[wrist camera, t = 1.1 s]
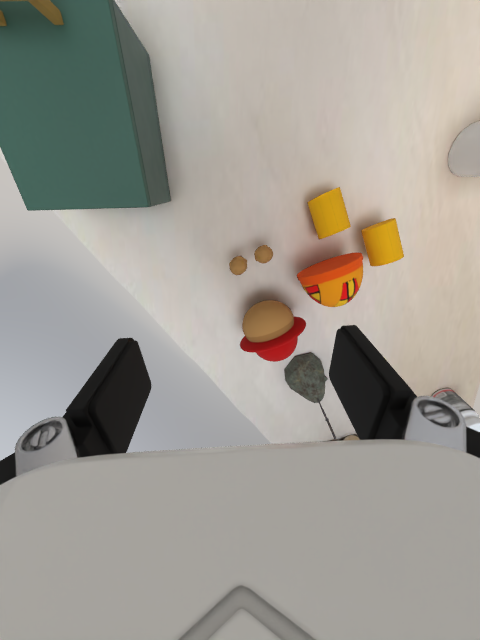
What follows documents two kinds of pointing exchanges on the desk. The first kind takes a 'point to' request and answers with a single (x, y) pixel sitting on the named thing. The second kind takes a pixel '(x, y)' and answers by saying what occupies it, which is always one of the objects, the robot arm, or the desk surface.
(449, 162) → the drinking glass
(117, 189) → the lid
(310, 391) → the sword in stone
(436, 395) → the pill bottle
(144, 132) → the green storage box
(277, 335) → the toy set
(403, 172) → the desk surface
